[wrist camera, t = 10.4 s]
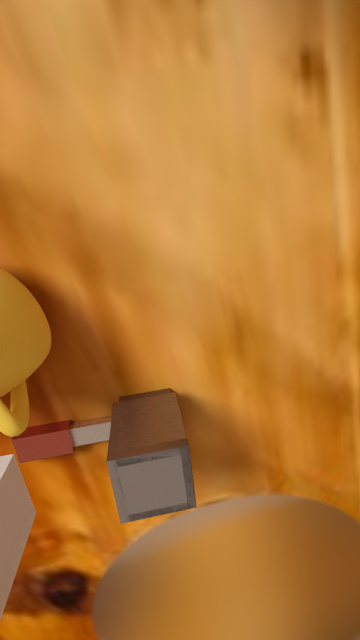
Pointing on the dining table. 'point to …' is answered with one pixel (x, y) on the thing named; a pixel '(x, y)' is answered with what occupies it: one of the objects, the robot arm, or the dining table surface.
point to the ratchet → (66, 434)
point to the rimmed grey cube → (149, 458)
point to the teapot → (19, 349)
